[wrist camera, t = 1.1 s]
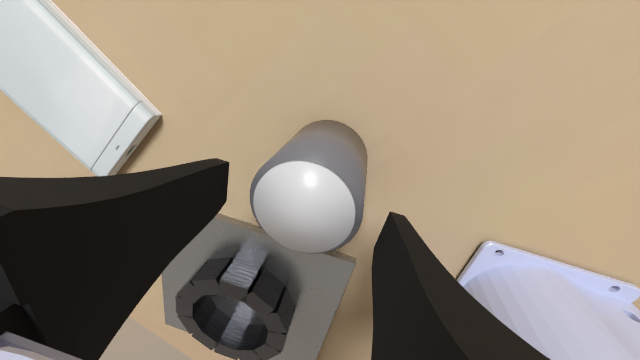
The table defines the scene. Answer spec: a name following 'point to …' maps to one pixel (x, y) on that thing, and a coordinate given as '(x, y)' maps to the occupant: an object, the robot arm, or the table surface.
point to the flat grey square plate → (253, 293)
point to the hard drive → (70, 86)
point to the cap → (313, 189)
